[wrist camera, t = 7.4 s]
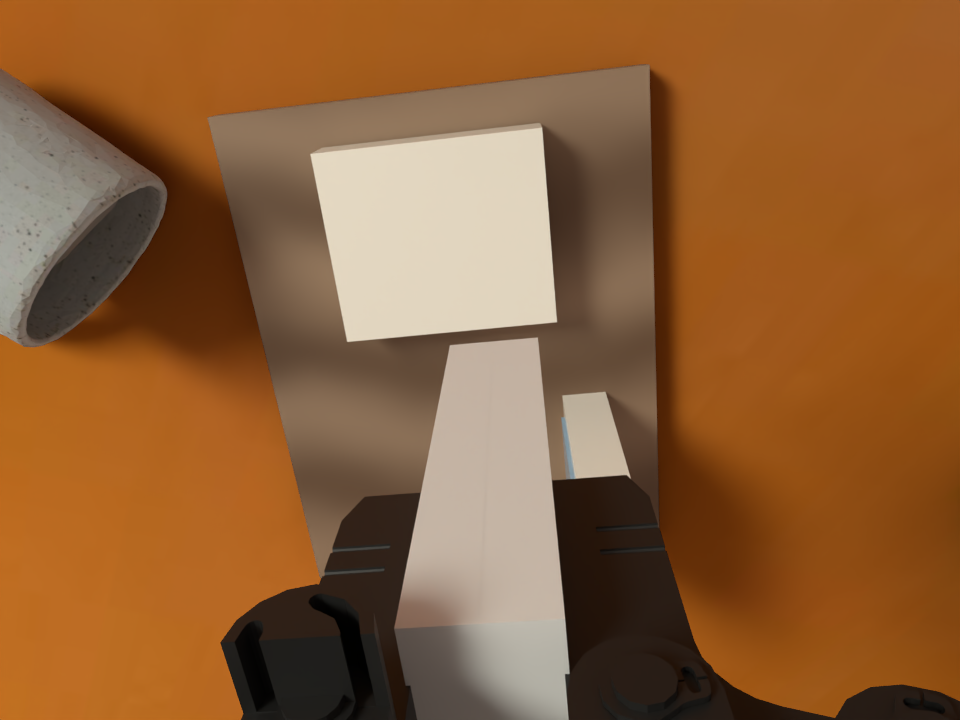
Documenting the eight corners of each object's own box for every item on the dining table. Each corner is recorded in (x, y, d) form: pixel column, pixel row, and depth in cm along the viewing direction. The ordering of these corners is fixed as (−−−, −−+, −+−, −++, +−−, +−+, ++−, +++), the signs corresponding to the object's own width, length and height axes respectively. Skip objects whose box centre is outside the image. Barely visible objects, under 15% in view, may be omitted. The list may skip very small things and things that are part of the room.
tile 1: (539, 122, 26) (323, 147, 27) (542, 127, 25) (310, 154, 25) (553, 305, 29) (356, 324, 30) (557, 322, 27) (347, 341, 28)
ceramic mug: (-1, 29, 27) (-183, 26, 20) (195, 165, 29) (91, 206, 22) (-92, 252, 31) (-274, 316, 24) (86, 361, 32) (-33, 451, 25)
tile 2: (558, 395, 31) (575, 505, 23) (605, 391, 30) (637, 500, 23) (569, 533, 33) (587, 670, 26) (612, 530, 33) (643, 667, 26)
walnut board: (219, 114, 28) (207, 117, 27) (643, 64, 27) (649, 64, 26) (325, 561, 36) (320, 577, 35) (655, 538, 35) (659, 553, 34)
